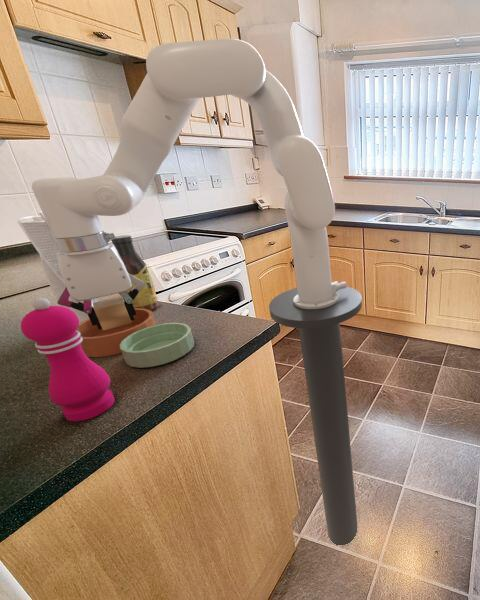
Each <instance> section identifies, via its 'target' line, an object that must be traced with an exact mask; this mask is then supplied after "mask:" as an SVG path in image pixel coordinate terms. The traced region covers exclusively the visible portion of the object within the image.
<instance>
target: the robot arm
mask: <svg viewBox="0 0 480 600" xmlns="http://www.w3.org/2000/svg"><path fill="white" fill-rule="evenodd" d="M145 60H146V61H145V67H146V75H145V76H144V78H143V80H142V82H141V83H140V85H139V87H138V89H137V91H136V93H135V95H134V96H133V98H132V100H131V102H130V104H129V105H128V107H127V109H126V110H125V112H124V114H123V115H122V119H121V123H120V139H119V143H118V146H117V148H116V151H115V153H114V155H113V157H112V158H111V161H110V162H109V164H108V166H107V168H106V169H105V171H104V173H103V174H101V175H97V176H96V175H95V176H92V177H86V178H77V177H70V176H69V177H50V178H48V177H47V178H40V179H36V180H34V181H32V183H31V189H32V192H33V195H34V197H35V199H36V201H37V203H38V206H39V208H40V211H41V210H42V212H43V213H42V215H44V217H45V219H46V221H47V223H48V225H49V228H50V230H51V232H52V234H53V237H54V239H55V241H56V243H57V246H58V248H59V250H60V252H58V253H57V260H58V264H59V267H60V271H61V274H62V277H63V279H64V282H65V284H66V286H65V288H64V290H63V291H62V293H61V295H60V297H59V298H58V300H57V301H56V302H57V304H58V306H61V305H63V306H67V307H72V308H73V309H76V310H79V311H82V312H84V313H86V314H88V316H89V319H90V321H91V323H92V325H93V326H94V325H97V327H98V329H102V327H101V324H100V322H99V320H98V318H97V315H96V313H95V311H94V308H93V307H92V299H94V298H97V299H98V298H103V297H109V296H112V295H116V294H119V297H120V296H121V297H122V299H123V302H124V304H125V307H126V310H127V312H128V315H129V317H130V320H132V321H133V320H134V317H133V315H136V312H135V309H134V306H133V304H132V302H133V300H134V299H135V297H136V296H137V294H138V293H139V291H141V290H142V288H143V287H144V286H145V283H144V282H143V281H142V280H140V279H138V278H136V277H134V276H133V275H131V274H129V273H128V272H127V270H126V267H125V265H124V263H123V261H122V259H121V257H120V255H119V253H118V251H117V250H116V248H115V246H114V245H113V243H110V242H112V240H114V239H116V238H115V233H114V232H111V233H109V232H106V231H104V228H103V226H102V223H101V221H100V218H99V217H100V216H105V217H117V216H118V217H119V216H122V215H126V214H128V213H130V212H131V211H132V210H134V209H135V208H137V206H138V205H139V204H140V203H141V201H142V200H143V198H144V196H145V195H146V192H147V191H148V189H149V187H150V185H151V184H152V182H153V180H154V179H155V177H156V175H157V173H158V171H159V169H160V167H161V166H162V164H163V162H164V161H165V159H166V158H167V157H168V156H169V155H170V152H171V150H172V148H173V147H174V145H175V143H176V141H177V139H178V138H179V136H180V134H181V132H182V131H183V128H184V127H185V125H186V123H187V121H188V120H189V118H190V116H191V115H192V113H193V111H194V110H195V107H196V106H197V104H198V103H199V101H200V99H203V98H213V97H222V96H229V95H231V96H232V97H235V98H237V99H240V100H242V101H244V102H245V103H247V104H248V105H249V106H250V107H251V108H252V110H253V111H254V113H255V115H256V117H257V119H258V122H259V125H260V127H261V130H262V132H263V135H264V139H265V142H266V145H267V148H268V151H269V155H270V159H271V162H272V166H273V168H274V169H275V171H276V173H278V174H279V175H280V176H281V177H282V178H283V180H284V184H285V186H286V189H287V192H286V194H285V197H284V202H283V203H284V212H285V217H286V222H287V226H288V231H289V237H290V244H291V251H292V259H293V265H294V266H293V267H294V273H295V281H296V288H297V289H298V294H297V295H296V296H295V297H294V299H293V302H294V305H295V306H297V307H299V308H302V309H321V308H326V307H329V306H331V305H333V304H335V303H336V302H337V301H338V299H339V295H338V293H337V291H338V290H339V289H343V288H346V287H348V284H347V281H342V282H339V281H338V280H336V281H333V279H332V270H331V269H332V268H331V259H330V250H329V249H330V248H329V236H328V231H327V227H328V226H329V225H330V224H331V222H332V221H333V219H334V217H335V214H336V205H335V204H336V203H335V200H334V199H335V198H334V195H333V190H332V187H331V184H330V183H331V182H330V179H329V176H328V172H327V168H326V164H325V161H324V159H323V155H322V153H321V151H320V149H319V148H318V146H317V145H316V144H315V142H313V141H312V140H311V139H309V138H308V137H306V136H304V132H303V129H302V125H301V123H300V119H299V117H298V114H297V110H296V108H295V105H294V103H293V100H292V98H291V96H290V94H289V93H288V91H287V89H286V88H285V87H284V85H283V84H282V83H281V82H280V81H279V80H278V78H276V76H275V75H273V74H272V73H271V72H270V71H269V70H267V69H266V66H265V65H266V64H265V61H264V60H263V58H262V56H261V54H260V53H259V52H258V50H257V49H256V48H255V47H254V46H253V45H252V44H250V43H249V42H247V41H245V40H242V39H239V38H230V37H229V38H216V39H215V38H214V39H204V40H190V41H175V42H167V43H161V44H159V45H156V46H154V47H153V48H151V49H150V50H149V52H148V54H147V55H146V59H145ZM131 282H132V283H134V284H135V286H134V287H133V288H132V284H131ZM131 288H132V289H131ZM129 289H131V290H130V292H129V293H128V292H127V290H129ZM70 296H71V297H72V299H73V300H76V301H73V300H70V299H68V298H69V297H70ZM78 301H83V303H81V302H78Z"/></svg>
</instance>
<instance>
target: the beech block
mask: <svg viewBox="0 0 480 600" xmlns="http://www.w3.org/2000/svg"><path fill="white" fill-rule="evenodd" d="M93 306H94V311H95V313H96V315H97V318H98V320H99V322H100V324H101V327H102V329H103V330H107V329H111V328H115V327H118V326H122V325H126V324H129V323H132V322H131V320H130V317H129V315H128V312H127V310H126V307H125V304H124V299H123V298H122V297H121V296H120V295H119V296H116V297H111V298H107V299H102V300H99V301H98V302H94V303H93Z"/></svg>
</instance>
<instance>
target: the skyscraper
mask: <svg viewBox="0 0 480 600" xmlns="http://www.w3.org/2000/svg"><path fill="white" fill-rule="evenodd" d="M38 214H39V215H30V216H29V215H28V216H23V217H21V218H18V219H17V224H18V225H19V226H20V228H21V229H22V231H23V233H24V235H26V238H28V240H29V241H30V243H31V244H32V246H33V247H34V248H35V250H36V252H37V253H38V254H39V259H40V264H41V267H42V269H43V273H44V275H45V278H46V280H47V282H48V284H49V287H50V289H51V291H52V292H53V294H54V297H55V298H56V300H57V301H58V298H59V297H60V295H61V293H62V291H63V290H64V288H65V286H66V284H65V282H64V279H63V277H62V274H61V271H60V267H59V264H58V260H57V253H58V252H60V250H59V248H58V246H57V243H56V241H55V239H54V237H53V234H52V232H51V230H50V228H49V225H48V223H47V221H46V219H45V217H44V215H43V212H42V210H41V209H40V211H38ZM68 299H70V300H73V299H72V297H71V296H70V297H69V298H68ZM73 301H76V300H73ZM98 301H100V299H98V298H94V299H92V307H93V308H94V306H93V303H94V302H98ZM78 302H81V303H83V301H78ZM60 306H62V307H66V308H69V309H70V310H72V311H73V312H74V313H75V314H76V315H77V317H78V319H79V323H81V322H83V321H85V320H87V319H89V316H88V314H86V313H84V312H82V311H79V310H76V309H73V308H72V307H67V306H63V305H60Z"/></svg>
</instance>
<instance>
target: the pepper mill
mask: <svg viewBox="0 0 480 600" xmlns="http://www.w3.org/2000/svg"><path fill="white" fill-rule="evenodd" d="M32 307H33V308H34V309H33V310H31V311H30V312H28V313H26V314H25V315H24V317H23V318H22V320H21V321H20V330H21V332H22V334H23V336H25V337H26V338H27V339H28V340H31V341H34V342H35V343H34V348H36V349H37V352H38V353H39V354H41V355H44V356H45V357H46V360H47V361H48V364H49V369H50V374H49V381H48V395H49V398H50V400H51V402H52V403H53V404H54V405H56V406H59V407H62V408H61V412H62V413H63V416H64V418H65V419H66V420H67V421H69V422H72V423H73V422H74V423H75V422H83V421H87V420H90V419H94V418H96V417H97V416H100V415H102V414H103V413H105V412H106V411H108V410H109V409H110V408H111V407H112V406H113V405H114V404H115V401H116V400H115V399H116V398H115V396H114V394H113V391H112V390H111V389H109V388H110V386H111V378H110V376H109V374H108V373H107V371H106V370H105V369H104V368H103V367H102V366H100V365H98V364H97V363H95V362H94V361H92V360H91V359H90V357H87V356H86V355H85V353H84V351H83V349H82V346H81V342H82V340H83V338H82V337H81V336H80V332H78V331H76V330H77V328H78V326H79V319H78V317H77V315H76V314H75V313H74V312H73V311H72V310H70V309H69V308H66V307H62V306H61V305H51V301H50V300H49V299H47V298H45V297H38V298H35V299H34V300H33V301H32Z"/></svg>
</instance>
